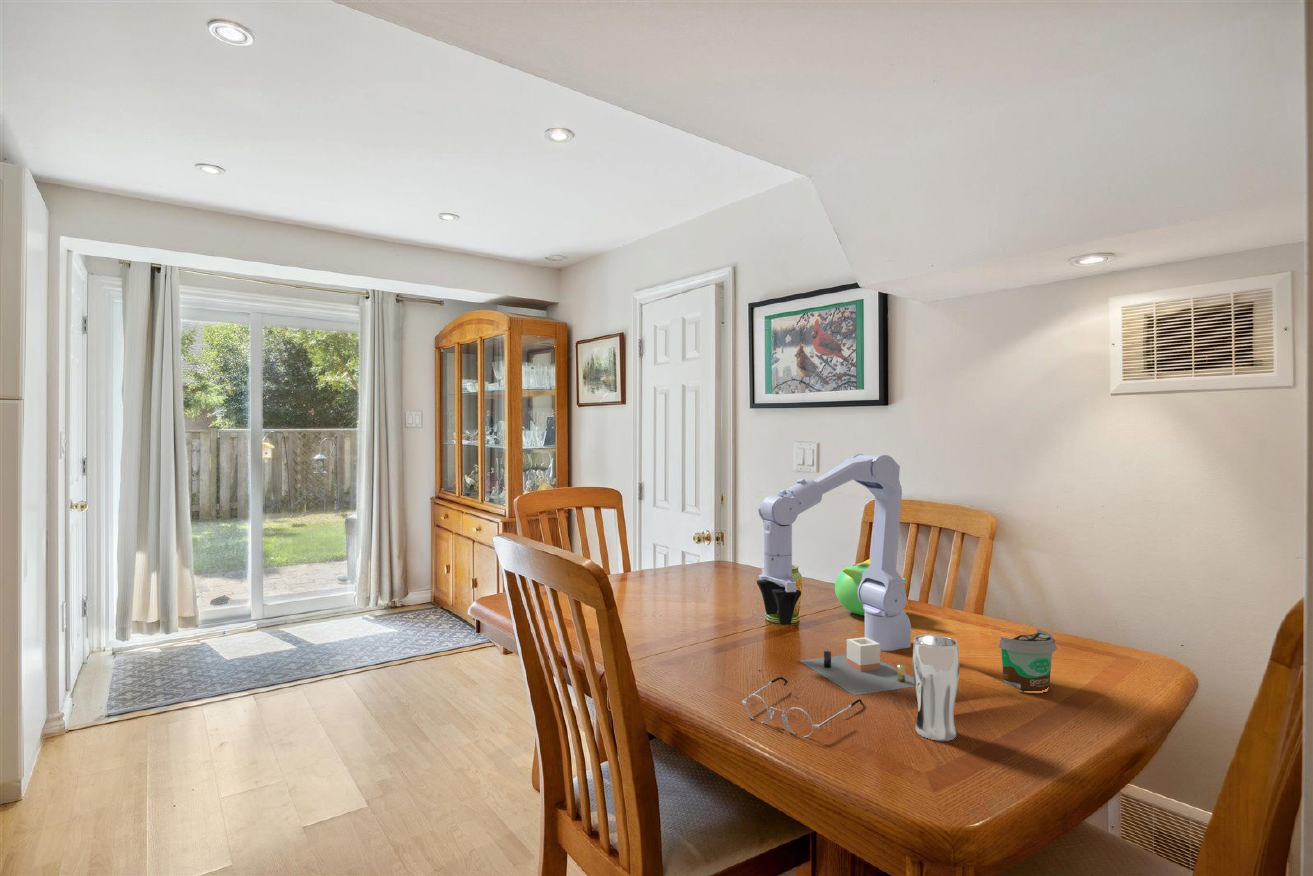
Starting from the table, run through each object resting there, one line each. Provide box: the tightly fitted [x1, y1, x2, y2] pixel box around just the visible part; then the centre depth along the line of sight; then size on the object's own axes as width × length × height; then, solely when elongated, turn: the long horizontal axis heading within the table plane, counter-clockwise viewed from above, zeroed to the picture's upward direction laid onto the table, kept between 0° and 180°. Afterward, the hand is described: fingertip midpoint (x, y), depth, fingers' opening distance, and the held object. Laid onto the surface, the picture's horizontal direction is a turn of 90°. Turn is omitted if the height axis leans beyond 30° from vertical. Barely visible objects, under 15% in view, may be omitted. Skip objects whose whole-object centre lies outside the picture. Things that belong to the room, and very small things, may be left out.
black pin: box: [823, 650, 832, 668], centre depth 131 cm, size 1×1×3 cm
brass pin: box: [896, 663, 906, 682], centre depth 123 cm, size 1×1×3 cm
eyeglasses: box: [741, 676, 863, 738], centre depth 113 cm, size 16×19×5 cm
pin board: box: [798, 654, 915, 696], centre depth 128 cm, size 16×19×2 cm
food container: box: [998, 628, 1057, 692], centre depth 123 cm, size 12×6×10 cm, turn 117°
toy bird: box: [834, 558, 908, 617], centre depth 174 cm, size 18×17×15 cm
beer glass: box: [912, 633, 960, 742], centre depth 105 cm, size 7×7×15 cm
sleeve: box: [846, 636, 881, 671], centre depth 131 cm, size 5×5×5 cm
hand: (778, 619), depth 135 cm, fingers open, 7 cm apart
